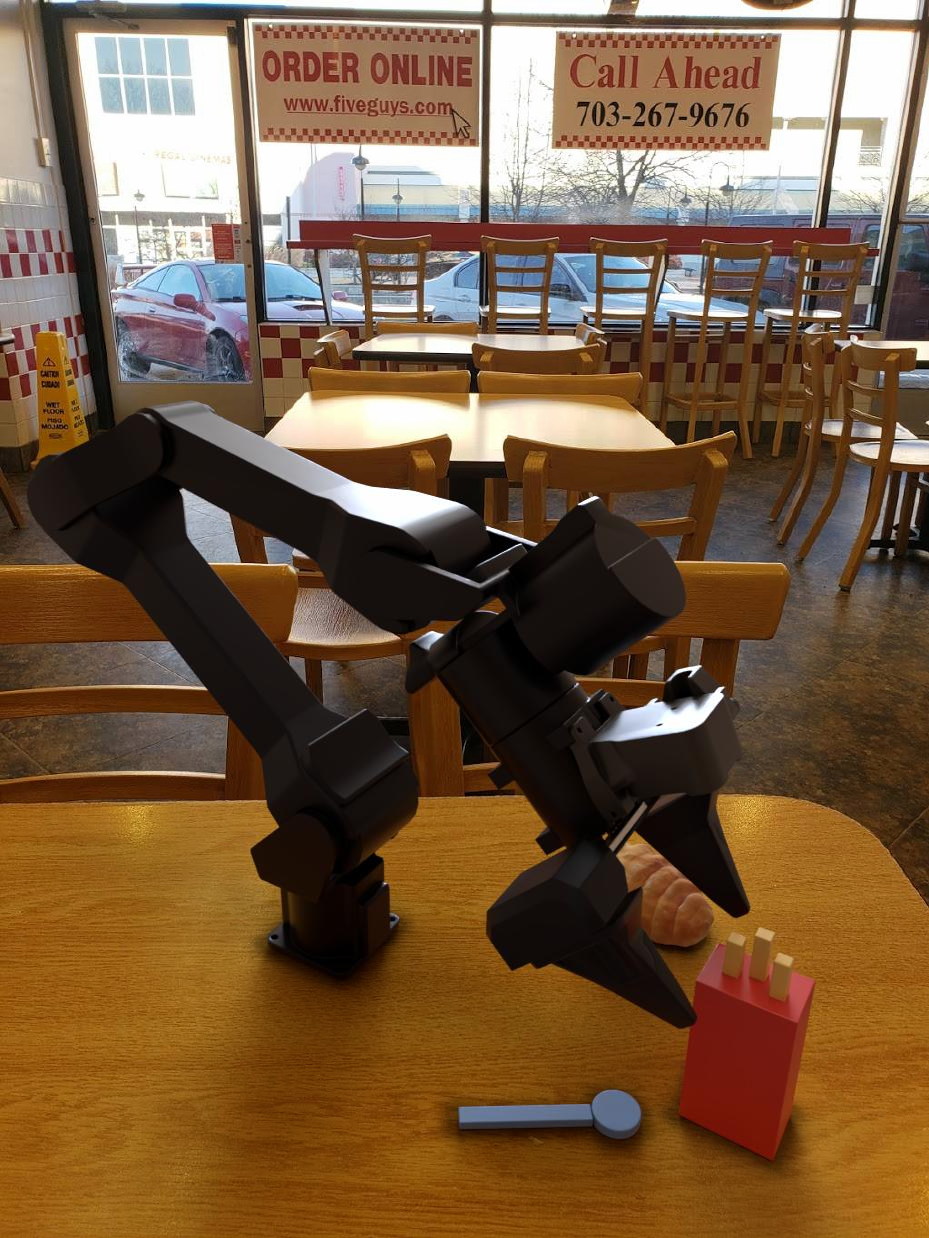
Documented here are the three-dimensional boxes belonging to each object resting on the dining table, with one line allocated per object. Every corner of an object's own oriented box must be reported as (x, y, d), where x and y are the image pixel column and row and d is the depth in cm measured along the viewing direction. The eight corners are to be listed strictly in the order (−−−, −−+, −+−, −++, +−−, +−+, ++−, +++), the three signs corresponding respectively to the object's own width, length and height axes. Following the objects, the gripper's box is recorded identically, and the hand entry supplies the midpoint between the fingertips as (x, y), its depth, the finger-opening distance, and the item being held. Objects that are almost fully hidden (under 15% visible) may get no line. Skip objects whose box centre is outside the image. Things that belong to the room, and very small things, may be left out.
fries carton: (678, 1114, 50) (700, 939, 46) (700, 1071, 53) (723, 902, 48) (772, 1161, 47) (805, 981, 43) (791, 1113, 50) (823, 939, 46)
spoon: (459, 1143, 48) (459, 1134, 48) (457, 1100, 50) (457, 1092, 50) (645, 1139, 48) (646, 1130, 48) (634, 1096, 51) (635, 1088, 51)
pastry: (731, 921, 64) (738, 875, 63) (676, 971, 60) (681, 922, 59) (620, 862, 71) (624, 818, 69) (562, 902, 66) (565, 857, 65)
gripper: (562, 714, 36) (813, 1051, 35) (708, 582, 51) (888, 815, 50) (396, 824, 43) (602, 1112, 42) (568, 679, 58) (724, 887, 57)
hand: (718, 965), depth 47 cm, fingers open, 9 cm apart
